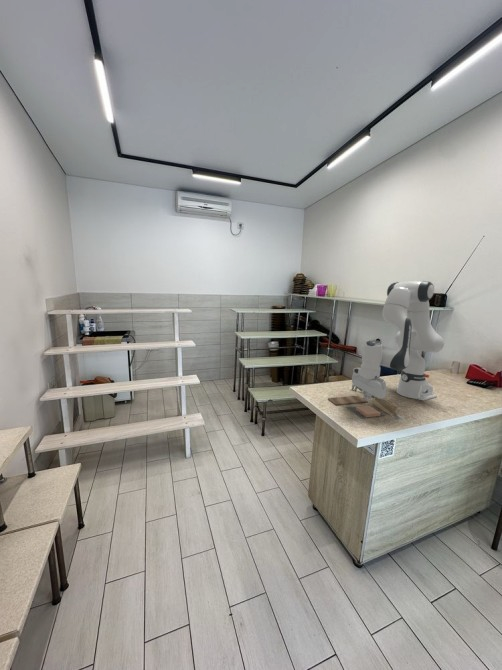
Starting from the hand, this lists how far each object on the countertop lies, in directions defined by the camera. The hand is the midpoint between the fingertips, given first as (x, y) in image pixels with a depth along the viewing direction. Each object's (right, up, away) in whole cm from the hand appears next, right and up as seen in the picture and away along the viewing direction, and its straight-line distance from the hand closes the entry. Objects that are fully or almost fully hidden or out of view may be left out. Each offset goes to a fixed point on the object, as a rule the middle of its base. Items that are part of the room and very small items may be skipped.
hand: (366, 399), depth 128 cm
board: (-5, -4, +13) cm, 14 cm away
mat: (0, -7, +1) cm, 7 cm away
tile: (-1, -5, +3) cm, 6 cm away
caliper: (+11, -4, +24) cm, 26 cm away
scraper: (+12, -7, +2) cm, 14 cm away
